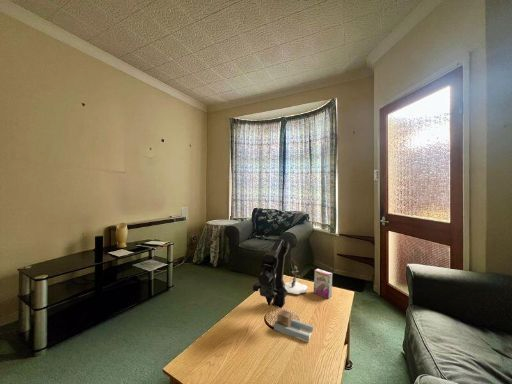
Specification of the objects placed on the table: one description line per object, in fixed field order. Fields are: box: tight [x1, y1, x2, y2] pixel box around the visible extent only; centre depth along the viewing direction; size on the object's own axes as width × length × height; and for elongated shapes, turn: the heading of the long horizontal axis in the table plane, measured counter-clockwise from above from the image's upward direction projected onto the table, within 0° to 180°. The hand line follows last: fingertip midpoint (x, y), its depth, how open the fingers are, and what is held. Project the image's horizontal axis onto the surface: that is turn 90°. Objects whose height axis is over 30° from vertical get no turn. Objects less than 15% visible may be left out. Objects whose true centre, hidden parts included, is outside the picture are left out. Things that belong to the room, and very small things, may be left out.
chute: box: [273, 318, 314, 343], centre depth 111 cm, size 18×9×3 cm, turn 62°
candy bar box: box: [313, 268, 333, 299], centre depth 148 cm, size 11×5×16 cm, turn 47°
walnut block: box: [276, 309, 293, 328], centre depth 113 cm, size 6×5×7 cm
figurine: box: [284, 265, 309, 295], centre depth 155 cm, size 20×18×16 cm
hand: (269, 305), depth 117 cm, fingers closed
